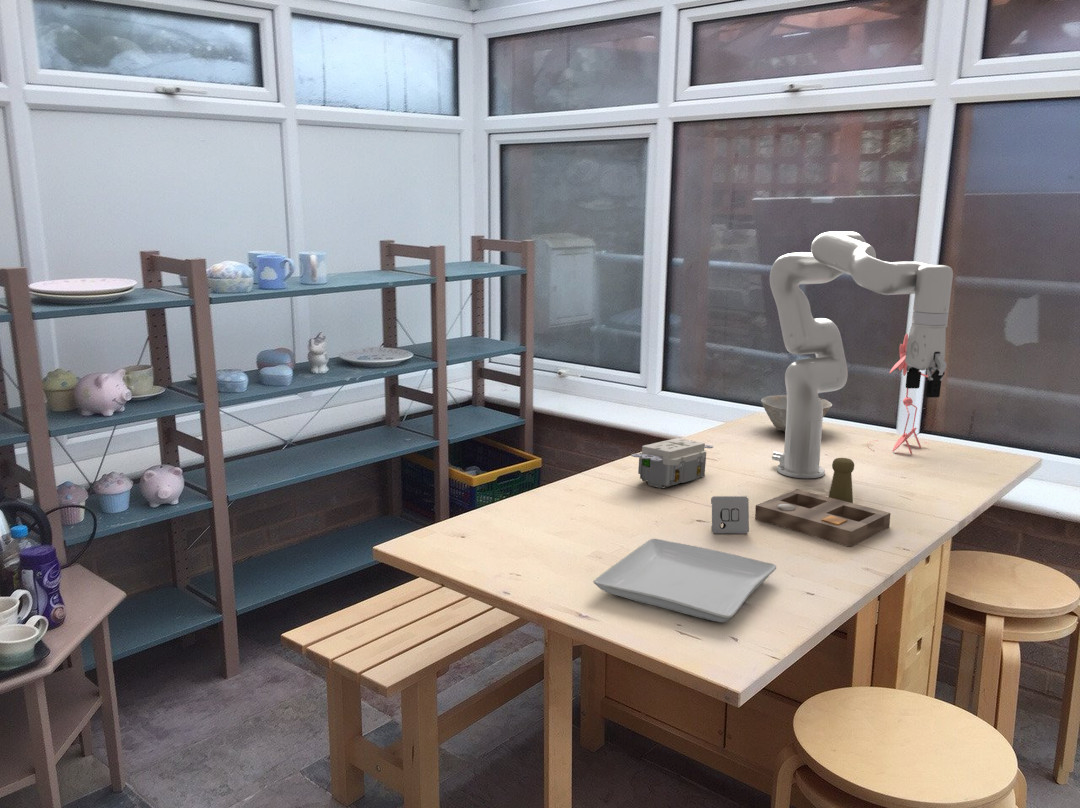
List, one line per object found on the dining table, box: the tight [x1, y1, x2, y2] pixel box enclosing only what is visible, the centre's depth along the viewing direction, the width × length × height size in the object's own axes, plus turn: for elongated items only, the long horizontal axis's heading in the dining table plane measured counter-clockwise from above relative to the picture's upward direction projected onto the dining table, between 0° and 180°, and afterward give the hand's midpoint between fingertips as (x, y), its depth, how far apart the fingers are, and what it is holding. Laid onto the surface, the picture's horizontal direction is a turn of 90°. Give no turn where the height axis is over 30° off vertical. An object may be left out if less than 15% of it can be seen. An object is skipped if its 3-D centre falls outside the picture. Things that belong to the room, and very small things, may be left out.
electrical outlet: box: [630, 437, 714, 489], centre depth 242 cm, size 12×28×10 cm, turn 139°
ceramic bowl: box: [761, 394, 833, 433], centre depth 294 cm, size 22×23×10 cm
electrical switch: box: [710, 495, 750, 534], centre depth 204 cm, size 8×5×8 cm, turn 90°
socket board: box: [754, 488, 891, 548], centre depth 209 cm, size 24×18×4 cm
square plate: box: [592, 538, 777, 623], centre depth 174 cm, size 27×27×4 cm
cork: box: [828, 457, 855, 503], centre depth 224 cm, size 6×6×11 cm
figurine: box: [866, 333, 930, 455], centre depth 273 cm, size 15×26×35 cm, turn 142°
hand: (922, 392), depth 211 cm, fingers open, 9 cm apart
